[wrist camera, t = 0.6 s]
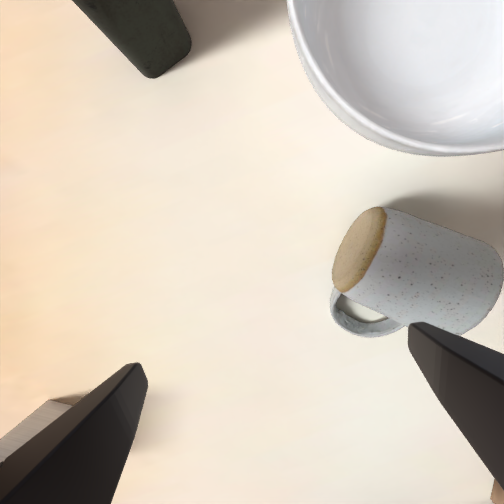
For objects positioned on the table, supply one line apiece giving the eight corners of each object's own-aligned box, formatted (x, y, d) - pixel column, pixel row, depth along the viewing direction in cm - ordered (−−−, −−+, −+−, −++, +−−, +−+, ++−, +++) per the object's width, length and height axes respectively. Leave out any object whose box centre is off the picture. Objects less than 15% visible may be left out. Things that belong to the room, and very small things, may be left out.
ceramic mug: (355, 201, 21) (397, 197, 14) (445, 236, 21) (538, 252, 14) (305, 308, 24) (318, 355, 16) (387, 341, 23) (440, 405, 16)
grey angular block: (79, 407, 27) (-30, 515, 18) (75, 458, 29) (-30, 587, 19) (48, 399, 28) (-77, 501, 18) (46, 450, 29) (-74, 573, 19)
